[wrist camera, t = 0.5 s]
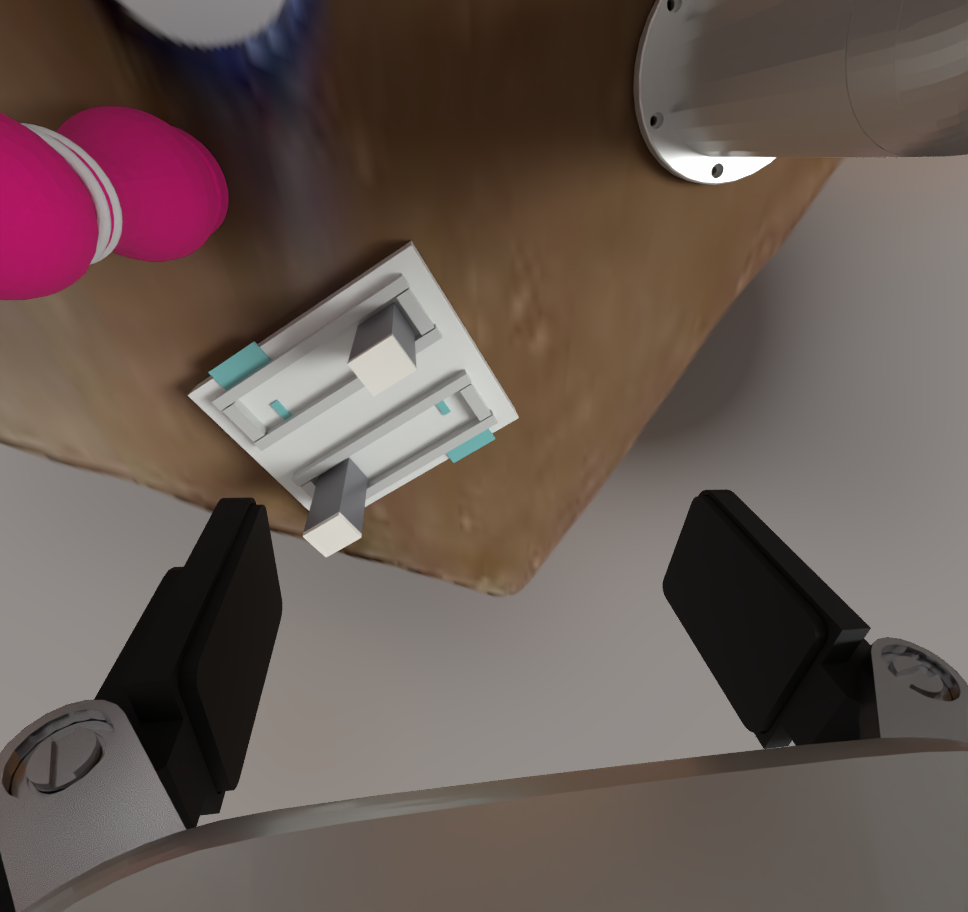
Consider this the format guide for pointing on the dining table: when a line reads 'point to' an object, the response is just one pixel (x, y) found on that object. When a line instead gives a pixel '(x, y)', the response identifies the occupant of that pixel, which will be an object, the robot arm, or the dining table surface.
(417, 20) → the dining table surface
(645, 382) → the dining table surface
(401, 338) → the tab
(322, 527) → the tab
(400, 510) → the dining table surface
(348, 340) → the switch board
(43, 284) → the pepper mill
